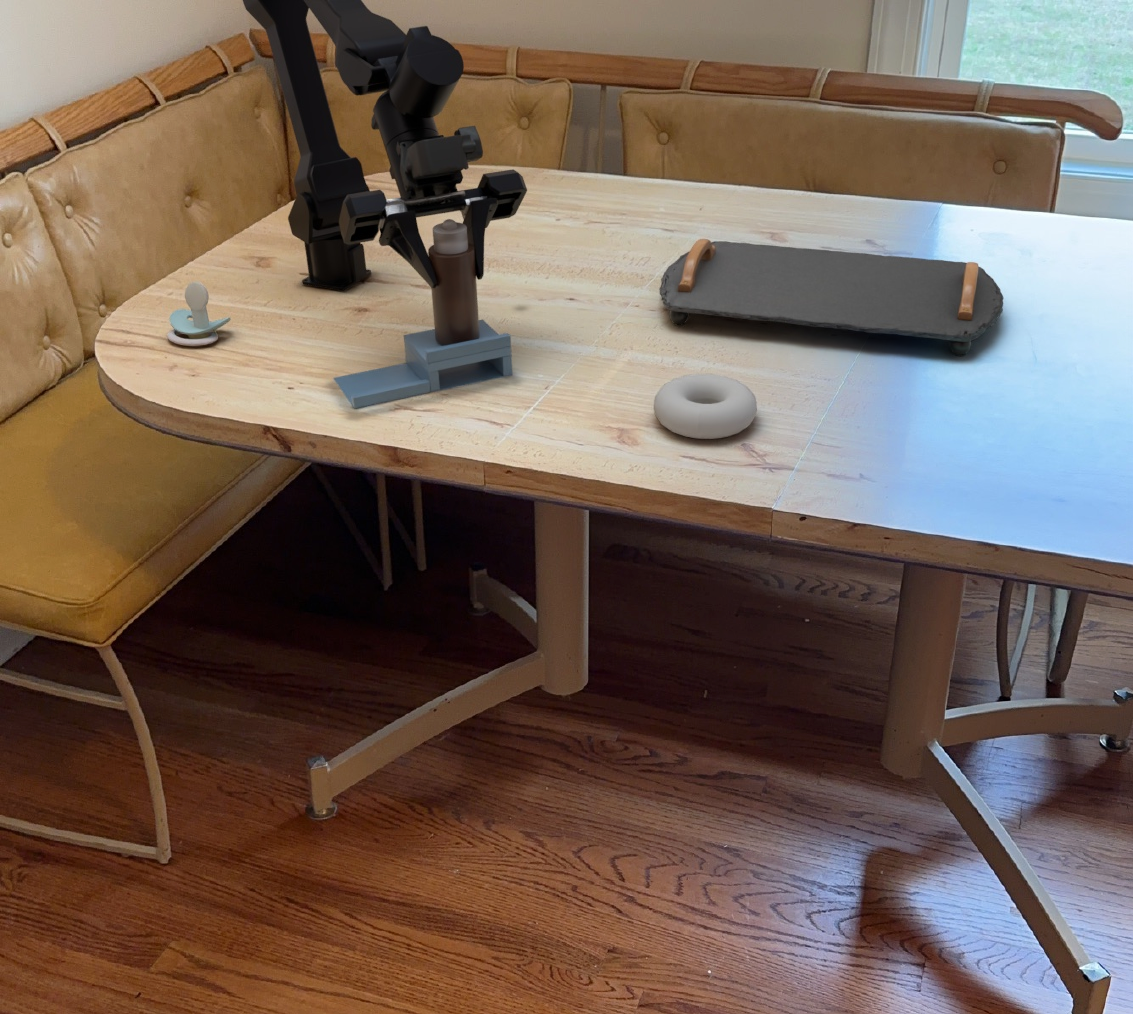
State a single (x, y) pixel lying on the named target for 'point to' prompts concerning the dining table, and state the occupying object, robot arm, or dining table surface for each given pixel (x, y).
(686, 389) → the donut
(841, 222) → the dining table surface
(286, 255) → the dining table surface
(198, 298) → the pacifier
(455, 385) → the riser
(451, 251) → the pepper mill
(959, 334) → the serving tray
